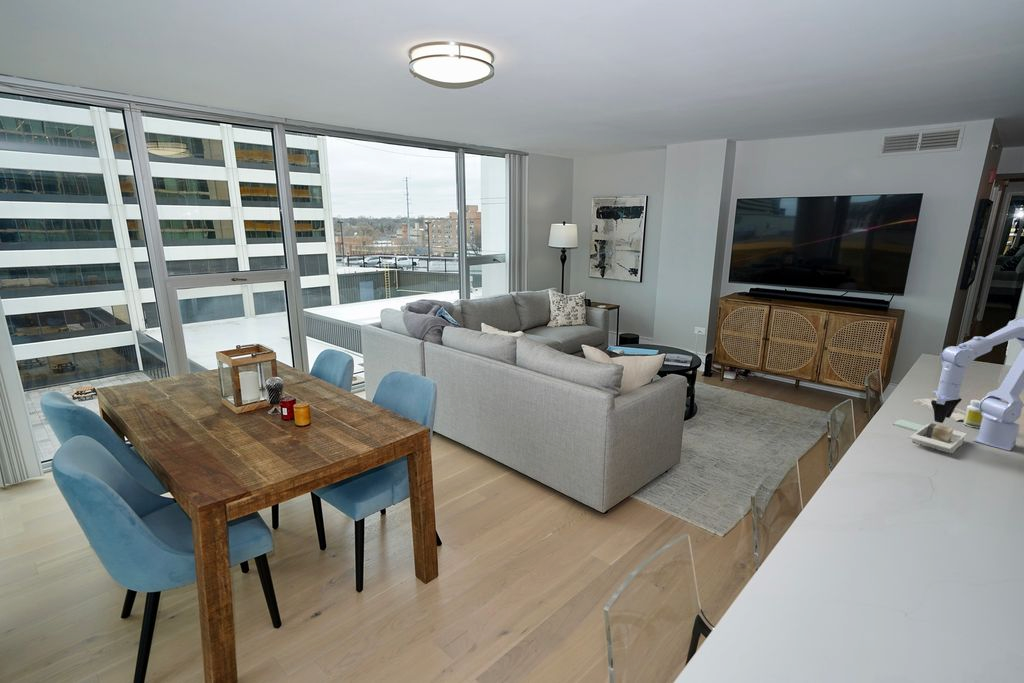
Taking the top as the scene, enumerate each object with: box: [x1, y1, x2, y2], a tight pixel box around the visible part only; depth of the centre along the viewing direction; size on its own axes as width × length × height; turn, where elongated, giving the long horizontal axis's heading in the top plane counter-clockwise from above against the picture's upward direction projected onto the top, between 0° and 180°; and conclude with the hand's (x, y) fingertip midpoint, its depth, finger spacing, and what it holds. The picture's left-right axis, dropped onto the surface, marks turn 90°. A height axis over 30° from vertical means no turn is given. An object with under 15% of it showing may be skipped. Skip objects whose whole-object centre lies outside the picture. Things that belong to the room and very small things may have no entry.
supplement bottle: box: [962, 399, 983, 429], centre depth 188 cm, size 5×5×10 cm
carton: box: [908, 422, 968, 454], centre depth 174 cm, size 11×20×3 cm, turn 126°
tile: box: [892, 418, 925, 432], centre depth 189 cm, size 8×7×1 cm
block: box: [925, 423, 954, 444], centre depth 174 cm, size 6×4×6 cm, turn 36°
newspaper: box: [913, 397, 966, 422], centre depth 204 cm, size 23×12×2 cm, turn 179°
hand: (942, 419), depth 173 cm, fingers open, 7 cm apart
